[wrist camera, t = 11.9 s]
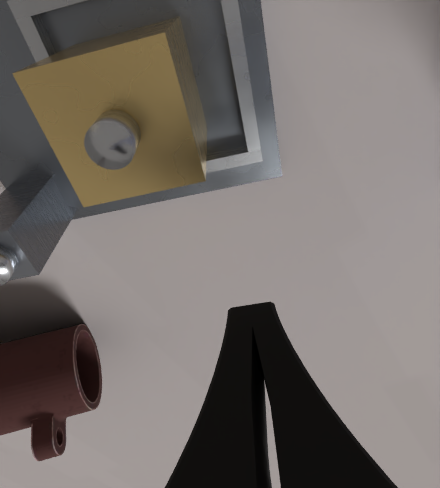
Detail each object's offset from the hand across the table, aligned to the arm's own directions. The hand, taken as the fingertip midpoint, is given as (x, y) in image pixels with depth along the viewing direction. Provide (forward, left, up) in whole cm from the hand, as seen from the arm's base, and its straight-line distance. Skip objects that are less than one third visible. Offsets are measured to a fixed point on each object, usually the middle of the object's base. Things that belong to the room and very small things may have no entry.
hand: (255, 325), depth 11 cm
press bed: (+5, -5, -10) cm, 12 cm away
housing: (+3, -6, -9) cm, 11 cm away
